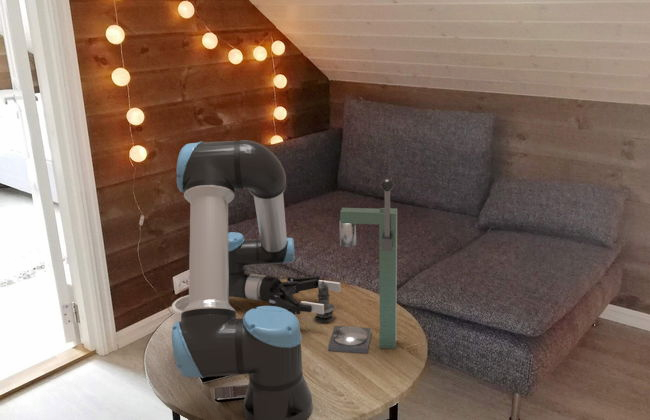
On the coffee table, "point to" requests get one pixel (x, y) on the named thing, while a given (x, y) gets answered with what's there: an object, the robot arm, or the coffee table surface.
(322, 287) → the dark chess piece
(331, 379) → the coffee table surface
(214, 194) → the robot arm
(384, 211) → the arbor press
